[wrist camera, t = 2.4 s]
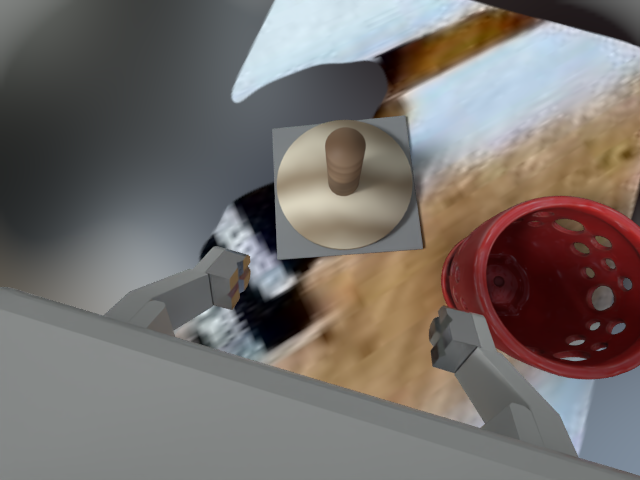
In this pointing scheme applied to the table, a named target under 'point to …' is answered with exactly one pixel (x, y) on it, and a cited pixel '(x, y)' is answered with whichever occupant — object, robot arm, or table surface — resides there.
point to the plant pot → (552, 285)
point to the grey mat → (398, 239)
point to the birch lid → (344, 184)
